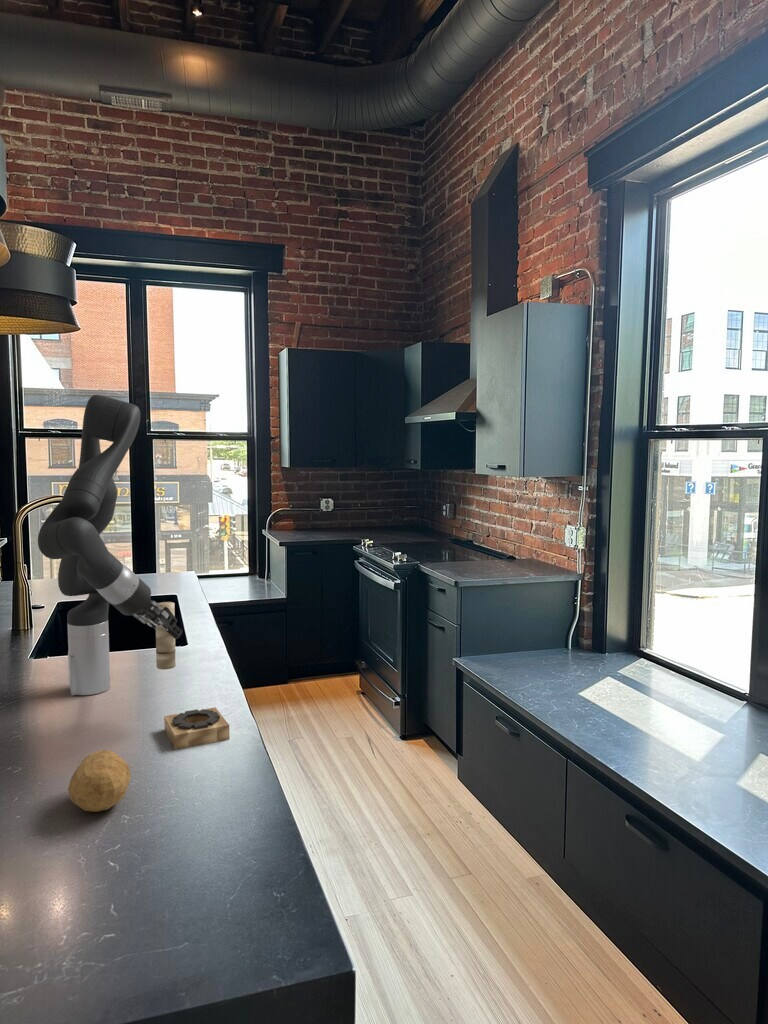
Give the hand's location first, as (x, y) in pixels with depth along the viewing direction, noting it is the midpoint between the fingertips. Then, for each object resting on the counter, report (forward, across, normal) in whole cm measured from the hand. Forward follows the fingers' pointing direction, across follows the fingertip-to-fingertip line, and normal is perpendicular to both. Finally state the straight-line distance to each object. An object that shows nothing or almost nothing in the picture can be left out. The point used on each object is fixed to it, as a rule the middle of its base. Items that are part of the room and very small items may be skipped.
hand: (172, 633), depth 154 cm
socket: (+11, -12, +16) cm, 23 cm away
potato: (-8, -21, +36) cm, 43 cm away
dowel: (+4, 0, +6) cm, 7 cm away
